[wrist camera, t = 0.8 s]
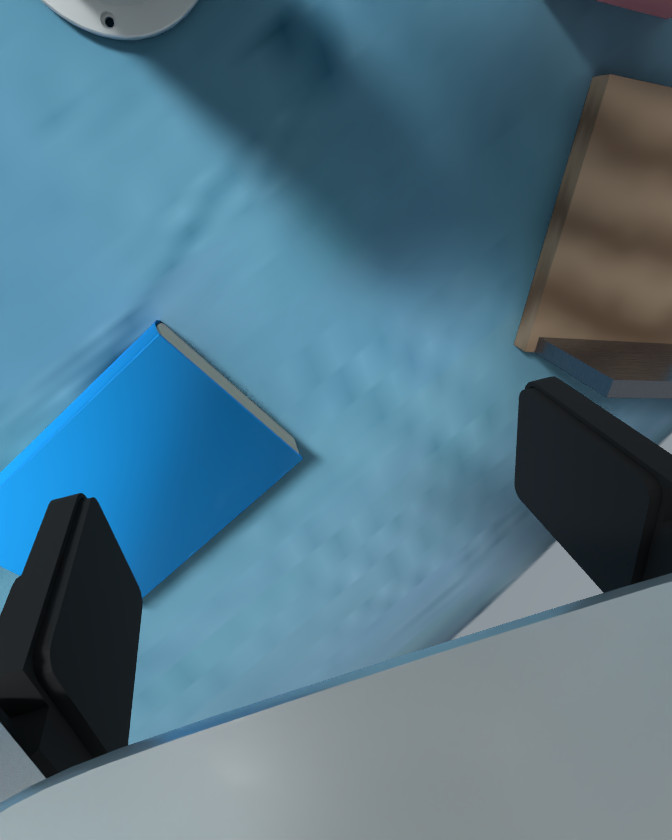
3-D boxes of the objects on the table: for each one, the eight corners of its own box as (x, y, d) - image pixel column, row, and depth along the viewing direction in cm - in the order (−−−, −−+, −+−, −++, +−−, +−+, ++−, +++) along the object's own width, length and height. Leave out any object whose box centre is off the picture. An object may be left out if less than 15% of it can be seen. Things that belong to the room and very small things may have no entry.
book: (304, 457, 46) (117, 626, 50) (296, 434, 50) (122, 592, 54) (150, 327, 38) (-63, 542, 41) (153, 311, 42) (-43, 509, 45)
